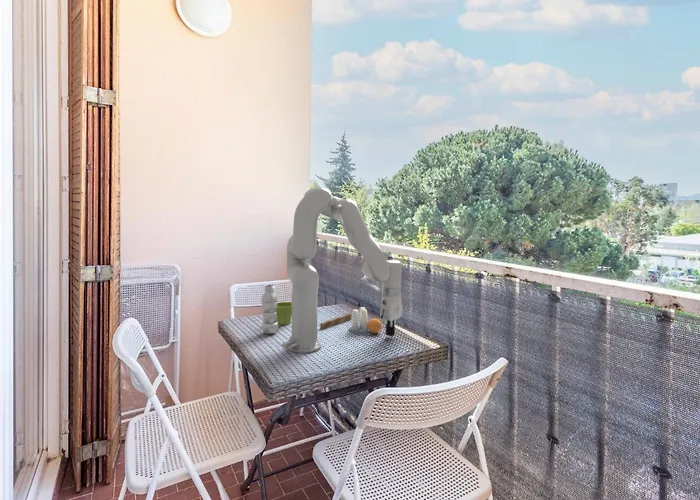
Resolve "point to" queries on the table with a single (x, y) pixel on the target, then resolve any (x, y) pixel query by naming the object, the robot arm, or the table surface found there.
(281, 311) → the plant pot
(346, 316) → the bar
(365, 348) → the table surface
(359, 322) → the pin
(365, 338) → the table surface
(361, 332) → the pin spot mat
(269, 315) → the plastic bottle
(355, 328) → the pin
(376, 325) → the ball
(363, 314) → the front pin
